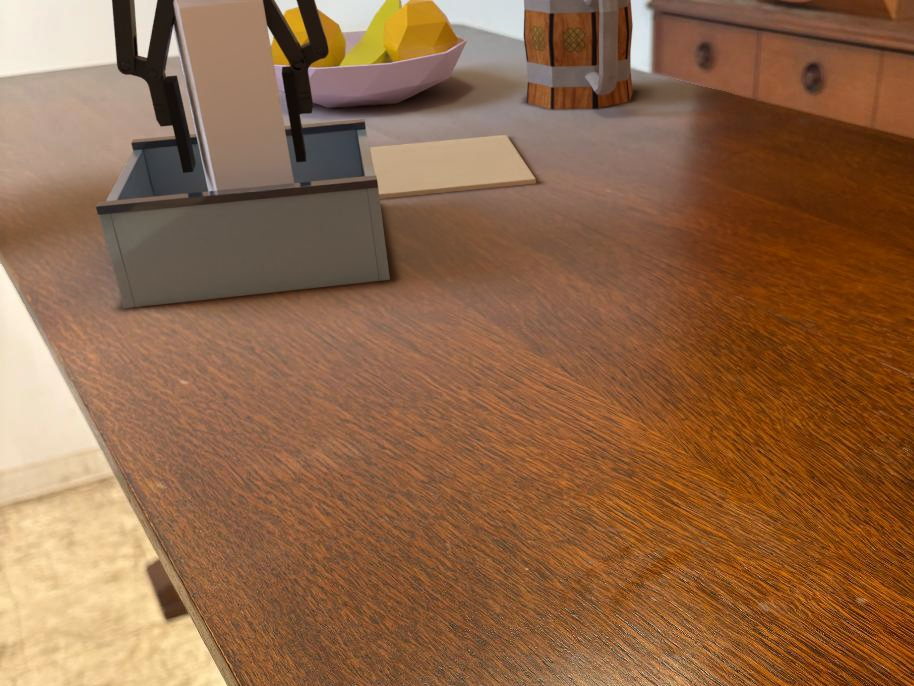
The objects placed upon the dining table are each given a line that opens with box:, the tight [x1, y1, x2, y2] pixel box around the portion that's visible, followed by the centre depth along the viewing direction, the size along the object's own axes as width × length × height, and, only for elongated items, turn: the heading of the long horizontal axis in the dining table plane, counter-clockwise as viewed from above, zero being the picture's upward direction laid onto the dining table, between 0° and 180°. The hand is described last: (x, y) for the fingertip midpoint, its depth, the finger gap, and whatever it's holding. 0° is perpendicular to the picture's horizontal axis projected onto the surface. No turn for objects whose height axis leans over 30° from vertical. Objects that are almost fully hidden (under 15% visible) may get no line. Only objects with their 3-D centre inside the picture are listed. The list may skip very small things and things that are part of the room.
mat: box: [370, 134, 537, 200], centre depth 108 cm, size 20×18×1 cm
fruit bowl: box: [271, 0, 468, 109], centre depth 137 cm, size 28×27×11 cm
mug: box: [523, 0, 634, 110], centre depth 126 cm, size 20×14×15 cm
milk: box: [173, 0, 294, 191], centre depth 83 cm, size 6×6×22 cm
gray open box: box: [95, 118, 391, 309], centre depth 87 cm, size 20×20×8 cm
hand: (245, 162), depth 85 cm, fingers open, 8 cm apart
